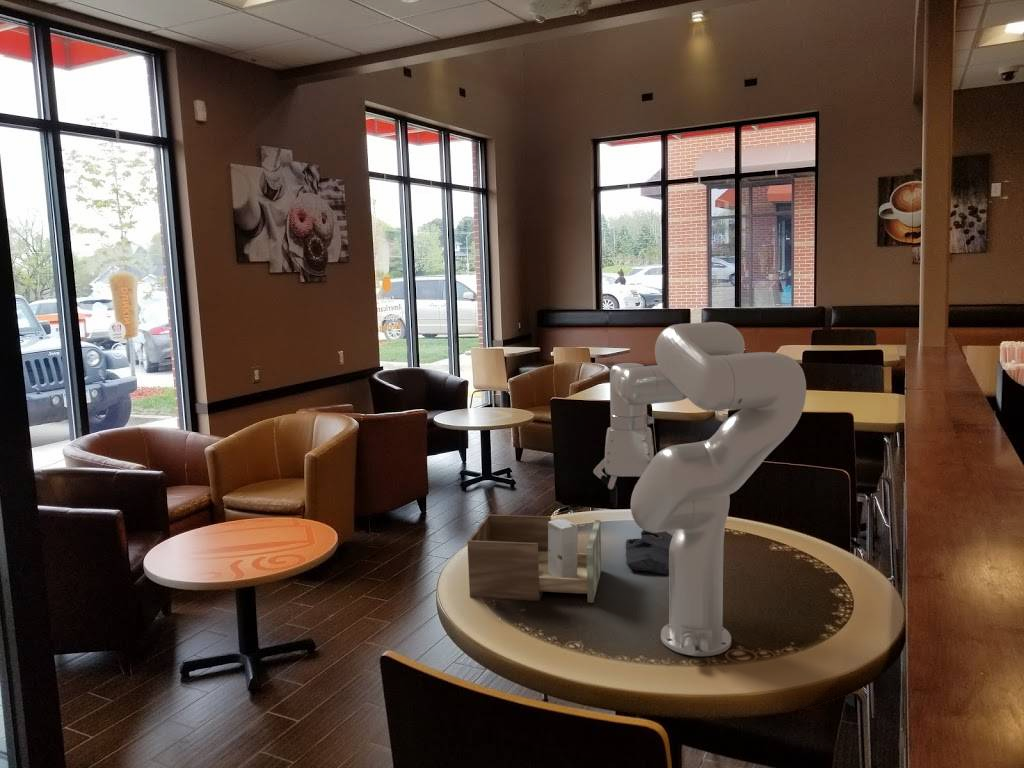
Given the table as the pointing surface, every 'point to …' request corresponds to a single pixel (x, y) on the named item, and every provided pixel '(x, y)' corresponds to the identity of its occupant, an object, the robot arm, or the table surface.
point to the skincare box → (562, 548)
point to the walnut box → (507, 557)
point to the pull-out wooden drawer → (585, 569)
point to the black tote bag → (649, 552)
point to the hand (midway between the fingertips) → (629, 505)
